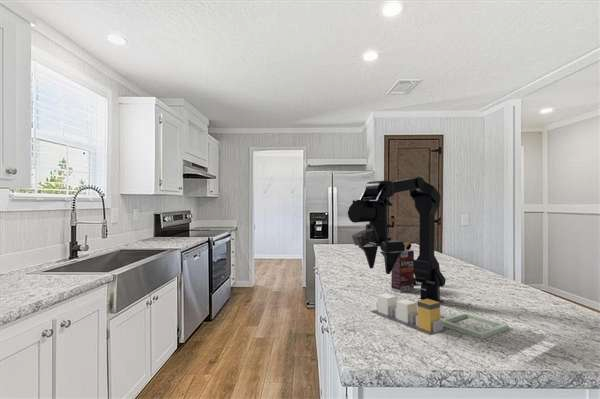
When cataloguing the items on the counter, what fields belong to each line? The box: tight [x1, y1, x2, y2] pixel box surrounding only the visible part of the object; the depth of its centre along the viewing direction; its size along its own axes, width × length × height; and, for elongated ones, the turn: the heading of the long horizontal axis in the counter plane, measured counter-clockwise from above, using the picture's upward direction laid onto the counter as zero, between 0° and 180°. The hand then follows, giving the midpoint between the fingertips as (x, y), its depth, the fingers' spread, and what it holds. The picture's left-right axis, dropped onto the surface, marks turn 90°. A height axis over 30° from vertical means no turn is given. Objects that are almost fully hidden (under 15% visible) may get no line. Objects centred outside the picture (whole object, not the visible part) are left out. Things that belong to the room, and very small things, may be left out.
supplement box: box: [390, 249, 415, 293], centre depth 134 cm, size 9×5×16 cm, turn 123°
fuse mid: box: [396, 298, 418, 323], centre depth 96 cm, size 4×4×5 cm
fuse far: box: [377, 293, 398, 315], centre depth 102 cm, size 4×4×5 cm
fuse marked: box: [416, 299, 441, 332], centre depth 89 cm, size 4×4×7 cm
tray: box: [440, 311, 510, 340], centre depth 90 cm, size 12×12×2 cm
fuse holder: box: [370, 301, 450, 336], centre depth 95 cm, size 8×22×4 cm, turn 31°
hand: (379, 271), depth 103 cm, fingers open, 9 cm apart
